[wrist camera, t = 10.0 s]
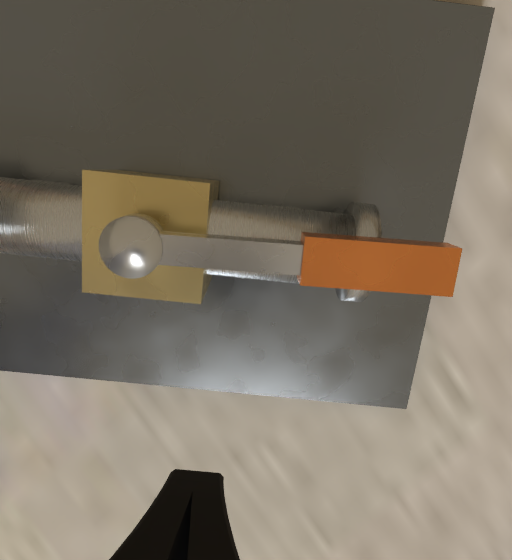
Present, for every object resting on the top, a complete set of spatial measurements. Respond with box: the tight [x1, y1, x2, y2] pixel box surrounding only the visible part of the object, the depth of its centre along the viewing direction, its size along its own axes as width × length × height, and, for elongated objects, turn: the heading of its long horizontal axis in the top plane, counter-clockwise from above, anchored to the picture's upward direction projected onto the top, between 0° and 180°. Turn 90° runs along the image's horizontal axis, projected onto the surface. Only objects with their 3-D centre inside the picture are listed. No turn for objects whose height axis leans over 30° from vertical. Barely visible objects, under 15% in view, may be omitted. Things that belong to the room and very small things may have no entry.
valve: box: [0, 0, 495, 409], centre depth 17 cm, size 21×18×6 cm
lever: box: [99, 213, 462, 297], centre depth 14 cm, size 12×2×1 cm, turn 86°
